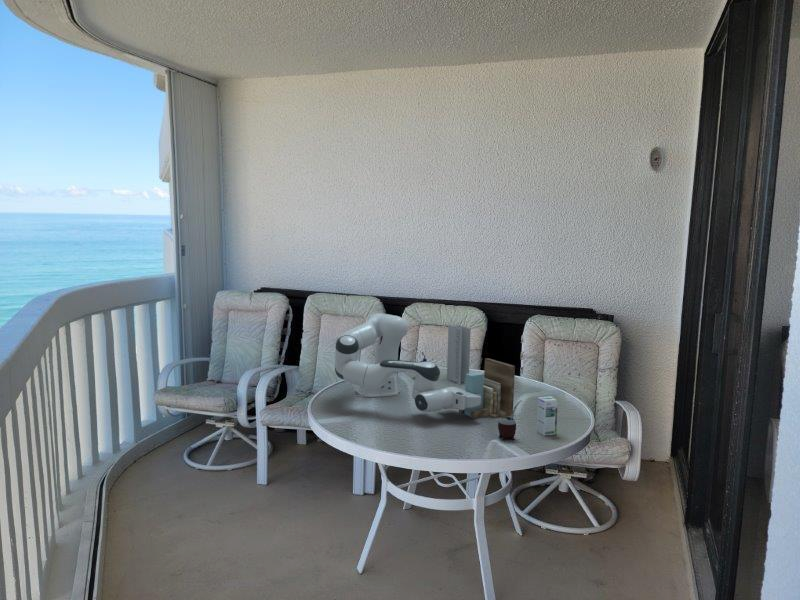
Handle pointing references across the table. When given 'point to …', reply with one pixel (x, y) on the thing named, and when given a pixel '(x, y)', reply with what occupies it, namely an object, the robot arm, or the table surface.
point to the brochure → (458, 353)
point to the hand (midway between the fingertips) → (475, 393)
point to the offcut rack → (506, 377)
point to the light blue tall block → (474, 389)
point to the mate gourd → (507, 426)
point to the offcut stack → (491, 395)
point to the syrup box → (547, 415)
